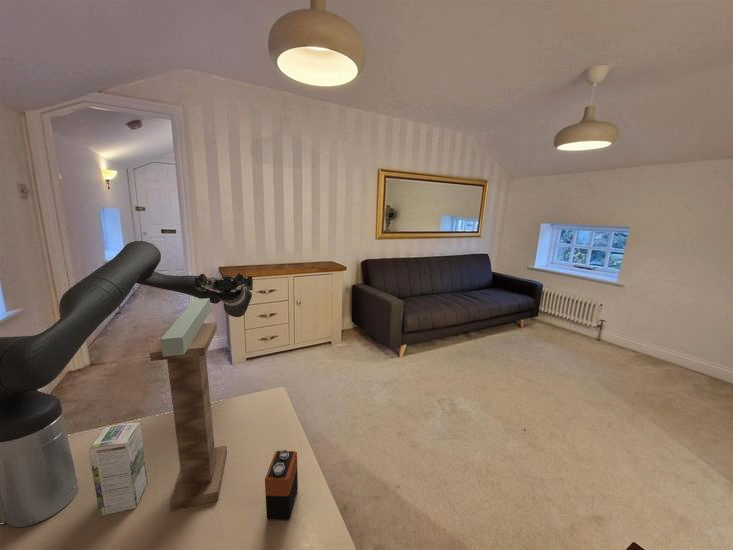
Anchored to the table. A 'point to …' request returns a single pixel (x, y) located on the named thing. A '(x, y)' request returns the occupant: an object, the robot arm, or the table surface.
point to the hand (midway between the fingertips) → (220, 277)
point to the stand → (194, 423)
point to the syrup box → (118, 468)
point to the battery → (281, 485)
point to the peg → (185, 328)
